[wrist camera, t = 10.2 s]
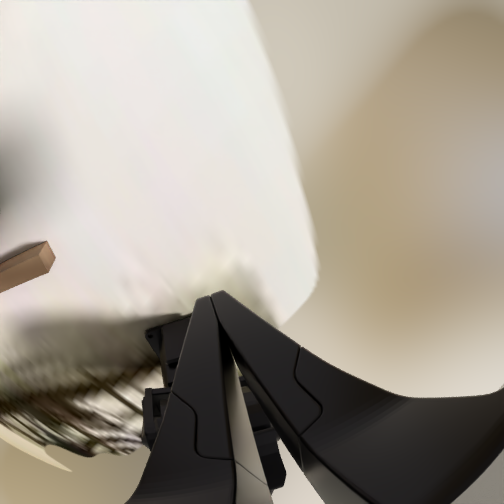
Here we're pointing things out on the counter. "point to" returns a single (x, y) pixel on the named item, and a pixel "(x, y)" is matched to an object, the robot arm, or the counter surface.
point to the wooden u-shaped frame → (26, 266)
